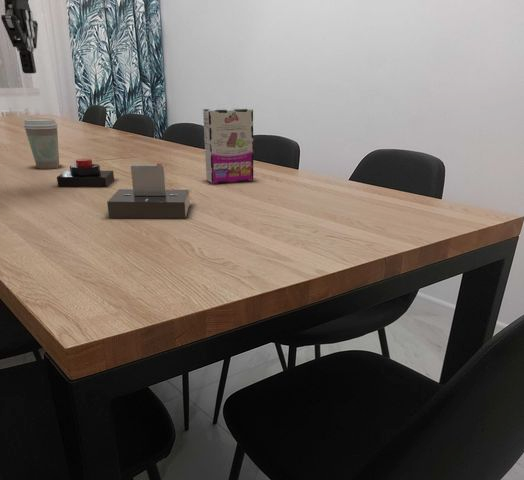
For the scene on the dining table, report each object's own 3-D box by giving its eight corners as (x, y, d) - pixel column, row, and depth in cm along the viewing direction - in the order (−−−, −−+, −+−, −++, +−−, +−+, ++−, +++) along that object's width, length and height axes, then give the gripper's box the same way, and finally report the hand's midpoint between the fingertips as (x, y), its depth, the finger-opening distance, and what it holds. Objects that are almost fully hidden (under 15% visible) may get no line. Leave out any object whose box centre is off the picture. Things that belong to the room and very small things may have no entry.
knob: (133, 195, 95) (130, 163, 92) (135, 194, 96) (131, 162, 94) (165, 196, 95) (163, 164, 93) (166, 194, 97) (164, 162, 94)
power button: (75, 168, 117) (73, 160, 116) (79, 166, 120) (78, 158, 119) (90, 168, 117) (89, 160, 116) (94, 166, 120) (93, 158, 119)
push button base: (58, 186, 116) (54, 168, 114) (69, 179, 124) (66, 162, 122) (106, 187, 116) (104, 169, 114) (114, 179, 124) (112, 162, 122)
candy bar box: (246, 178, 129) (246, 107, 121) (253, 181, 125) (254, 108, 117) (205, 180, 125) (202, 108, 117) (211, 184, 121) (209, 109, 113)
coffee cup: (31, 170, 133) (21, 121, 128) (31, 165, 140) (22, 118, 134) (65, 169, 136) (57, 120, 130) (64, 164, 143) (56, 118, 137)
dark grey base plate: (109, 218, 92) (106, 200, 91) (120, 204, 102) (118, 188, 100) (185, 218, 93) (184, 201, 92) (189, 204, 103) (189, 188, 101)
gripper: (17, -40, 87) (37, 73, 96) (42, -27, 99) (58, 73, 107) (-27, -41, 87) (-3, 73, 95) (3, -28, 99) (22, 72, 107)
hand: (29, 73), depth 101 cm, fingers closed
